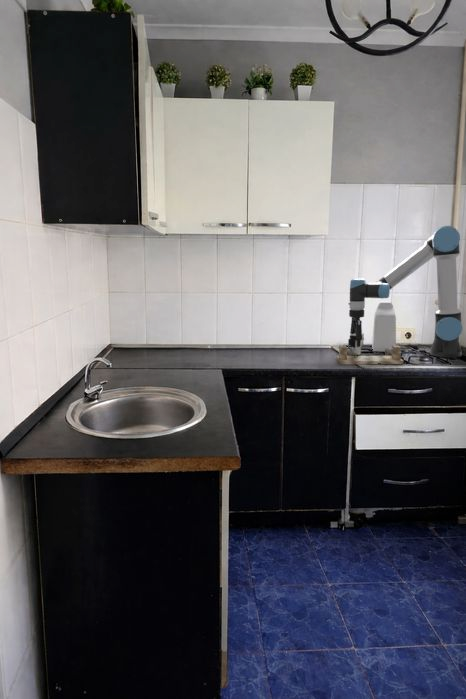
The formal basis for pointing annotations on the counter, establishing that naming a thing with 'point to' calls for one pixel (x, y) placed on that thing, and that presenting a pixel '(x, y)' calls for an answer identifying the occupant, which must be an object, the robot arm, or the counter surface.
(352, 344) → the pneumatic valve
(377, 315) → the milk
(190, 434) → the counter surface
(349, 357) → the pipe stand
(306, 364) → the counter surface
